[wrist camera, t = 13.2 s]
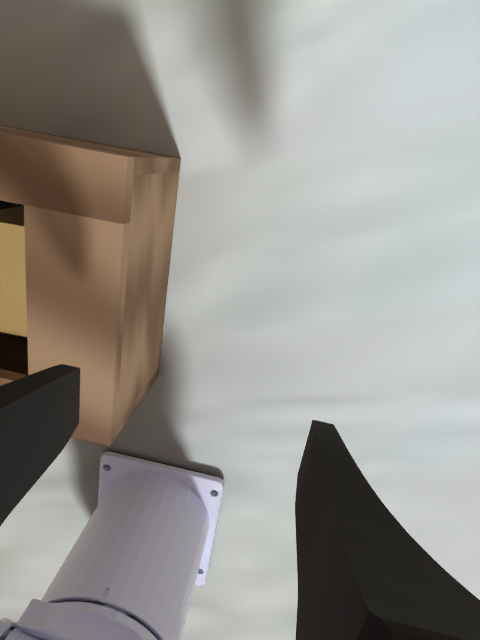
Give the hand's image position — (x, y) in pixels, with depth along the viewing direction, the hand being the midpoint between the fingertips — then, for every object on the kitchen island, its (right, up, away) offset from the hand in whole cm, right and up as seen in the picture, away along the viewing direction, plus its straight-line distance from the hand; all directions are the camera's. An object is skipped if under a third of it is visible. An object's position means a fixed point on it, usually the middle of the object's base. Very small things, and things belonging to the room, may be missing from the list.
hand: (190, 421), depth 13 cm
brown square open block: (-8, +7, +10) cm, 14 cm away
